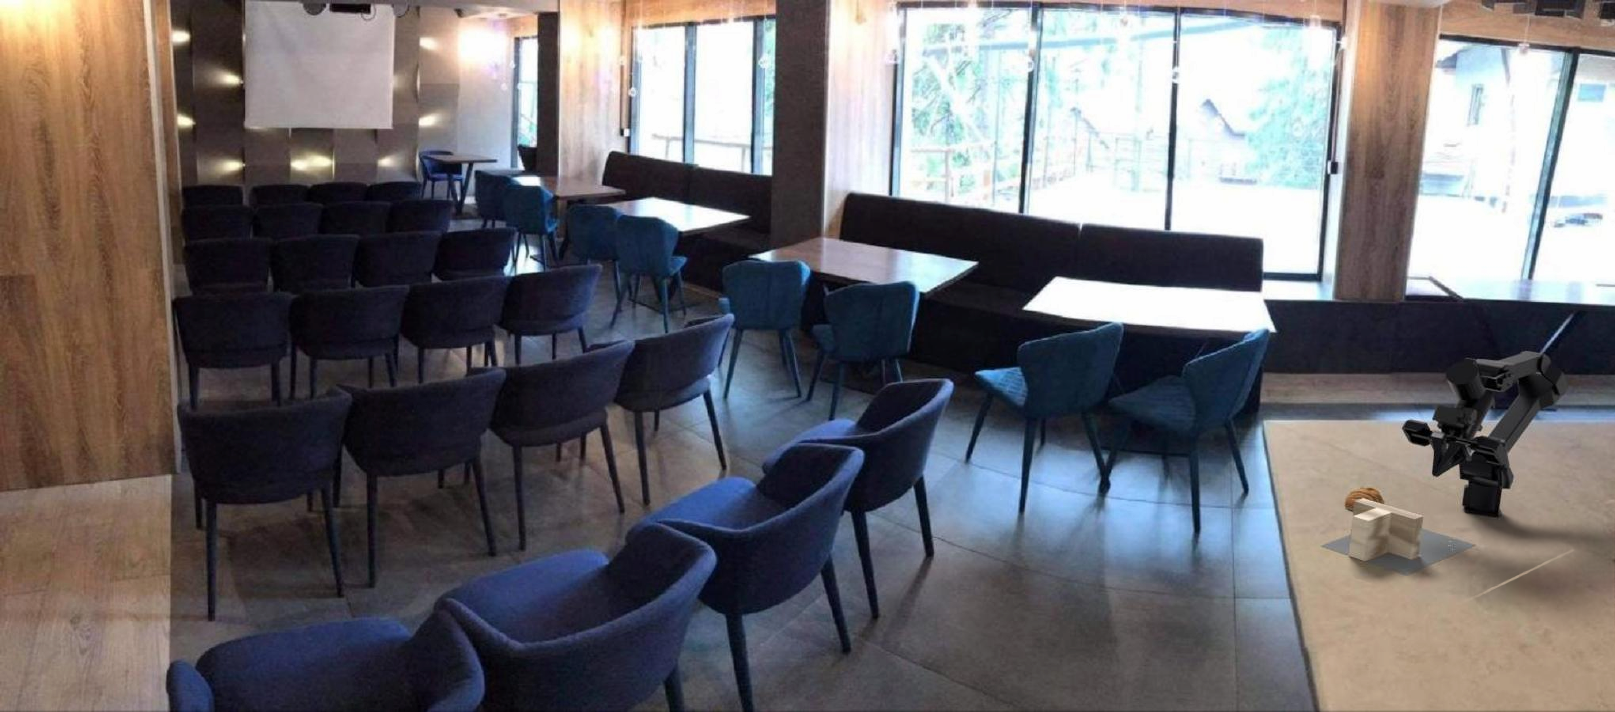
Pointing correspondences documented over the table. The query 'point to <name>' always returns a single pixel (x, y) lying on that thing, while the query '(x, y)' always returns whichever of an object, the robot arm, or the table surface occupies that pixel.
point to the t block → (1383, 531)
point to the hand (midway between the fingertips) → (1434, 475)
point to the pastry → (1363, 496)
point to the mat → (1429, 553)
